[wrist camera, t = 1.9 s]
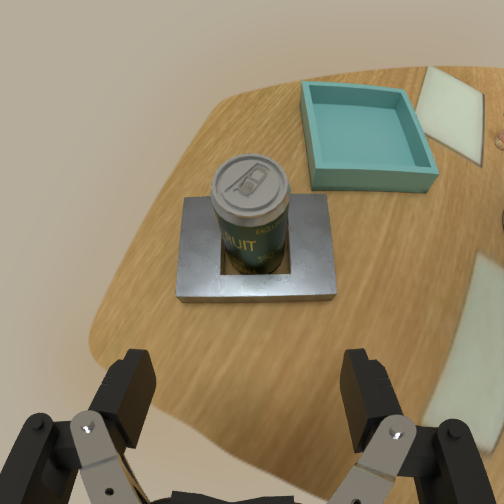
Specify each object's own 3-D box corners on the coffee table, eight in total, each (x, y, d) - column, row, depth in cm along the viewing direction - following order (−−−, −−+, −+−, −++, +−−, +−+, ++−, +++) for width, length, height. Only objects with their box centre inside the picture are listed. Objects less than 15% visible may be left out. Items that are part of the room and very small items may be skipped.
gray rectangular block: (322, 206, 33) (326, 193, 31) (331, 300, 29) (336, 293, 27) (189, 209, 34) (184, 197, 31) (182, 302, 30) (175, 296, 28)
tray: (396, 110, 38) (404, 89, 35) (425, 193, 33) (439, 174, 30) (299, 103, 39) (301, 81, 35) (311, 190, 34) (315, 168, 30)
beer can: (249, 218, 33) (240, 139, 22) (294, 245, 32) (307, 173, 20) (217, 258, 31) (191, 193, 20) (263, 289, 30) (260, 235, 19)
